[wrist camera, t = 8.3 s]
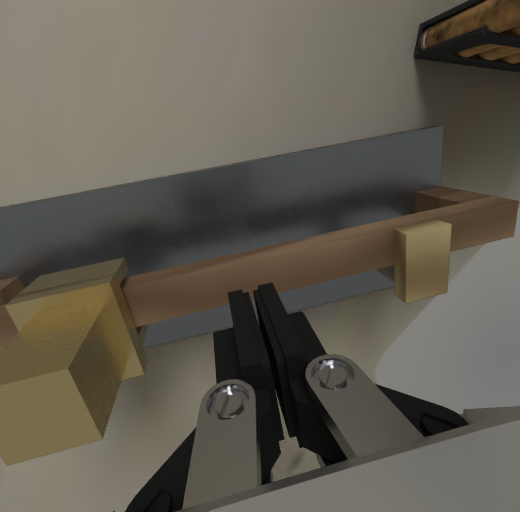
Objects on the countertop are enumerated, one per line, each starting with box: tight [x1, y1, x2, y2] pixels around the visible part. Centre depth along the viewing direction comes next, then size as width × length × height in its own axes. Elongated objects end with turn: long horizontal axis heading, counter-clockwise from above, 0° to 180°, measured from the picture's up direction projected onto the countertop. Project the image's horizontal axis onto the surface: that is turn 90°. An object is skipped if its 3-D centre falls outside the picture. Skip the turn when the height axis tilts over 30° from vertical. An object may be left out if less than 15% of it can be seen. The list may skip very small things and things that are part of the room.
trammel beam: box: [0, 187, 519, 352], centre depth 18 cm, size 4×30×7 cm, turn 99°
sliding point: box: [0, 258, 148, 466], centre depth 15 cm, size 5×4×11 cm
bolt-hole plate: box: [0, 126, 444, 348], centre depth 21 cm, size 11×30×1 cm, turn 99°
